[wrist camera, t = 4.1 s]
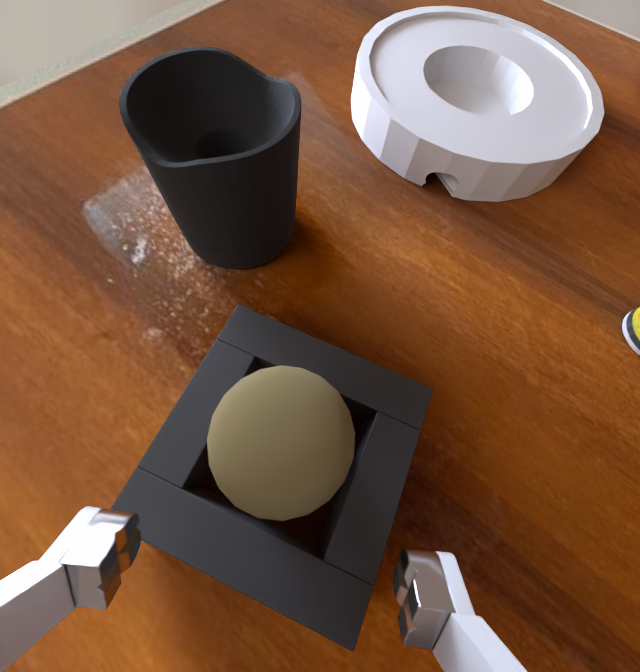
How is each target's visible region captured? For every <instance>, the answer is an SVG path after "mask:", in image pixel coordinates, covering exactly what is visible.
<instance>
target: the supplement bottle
mask: <svg viewBox="0 0 640 672" xmlns="http://www.w3.org/2000/svg"><path fill="white" fill-rule="evenodd" d="M622 330H623V334H624V337H625V339H626V341H627V342H628V344H629V345H630V347H631V348H632V349H633V350H634V351H635V352H636V353H637V354H638V355H639V356H640V307H638V308H636V309H634V310H632V311H631V312H629V313H628V314H627V315H626V316H625V318H624V319H623V323H622Z"/></svg>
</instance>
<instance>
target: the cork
mask: <svg viewBox="0 0 640 672" xmlns="http://www.w3.org/2000/svg"><path fill="white" fill-rule="evenodd" d="M354 444H355V431H354V427H353V423H352V419H351V414H350V411H349V409H348V408H347V406H346V404H345V402H344V401H343V399H342V397H341V396H340V394H339V392H338V391H337V390H336V389H335V388H334V387H332V386H331V385H330V384H329V383H328V382H327V381H326V380H325V379H324V378H322V377H321V376H319V375H317V374H314V373H312V372H310V371H308V370H306V369H303V368H298V367H290V366H282V365H281V366H276V367H270V368H264V369H260V370H258V371H256V372H254V373H252V374H250V375H248V376H246V377H244V378H242V379H240V380H239V381H238V382H237V383H236V384H235V385H234V386H233V387H232V388H231V389H230V390H229V391H228V392H227V393H226V394H225V395H224V396H223V398H222V400H221V401H220V403H219V405H218V406H217V408H216V410H215V412H214V413H213V415H212V419H211V424H210V428H209V432H208V437H207V447H208V460H209V467H210V469H211V471H212V474H213V476H214V478H215V481H216V483H217V486H218V488H219V489H220V490H221V491H222V492H223V493H224V495H225V496H226V497H227V498H228V499H229V500H230V501H231V502H232V503H233V504H234V506H235V507H237V508H239V509H241V510H243V511H245V512H247V513H249V514H251V515H253V516H255V517H257V518H262V519H271V520H279V521H285V520H289V519H293V518H297V517H301V516H305V515H308V514H310V513H311V512H313V511H314V510H316V509H317V508H319V507H320V506H322V505H323V504H325V503H327V502H328V501H329V500H330V499H331V498H332V496H333V495H334V494H335V493H336V491H337V490H338V489H339V488H340V486H341V485H342V484H343V483H344V481H345V479H346V477H347V474H348V471H349V469H350V466H351V463H352V461H353V458H354Z"/></svg>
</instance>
